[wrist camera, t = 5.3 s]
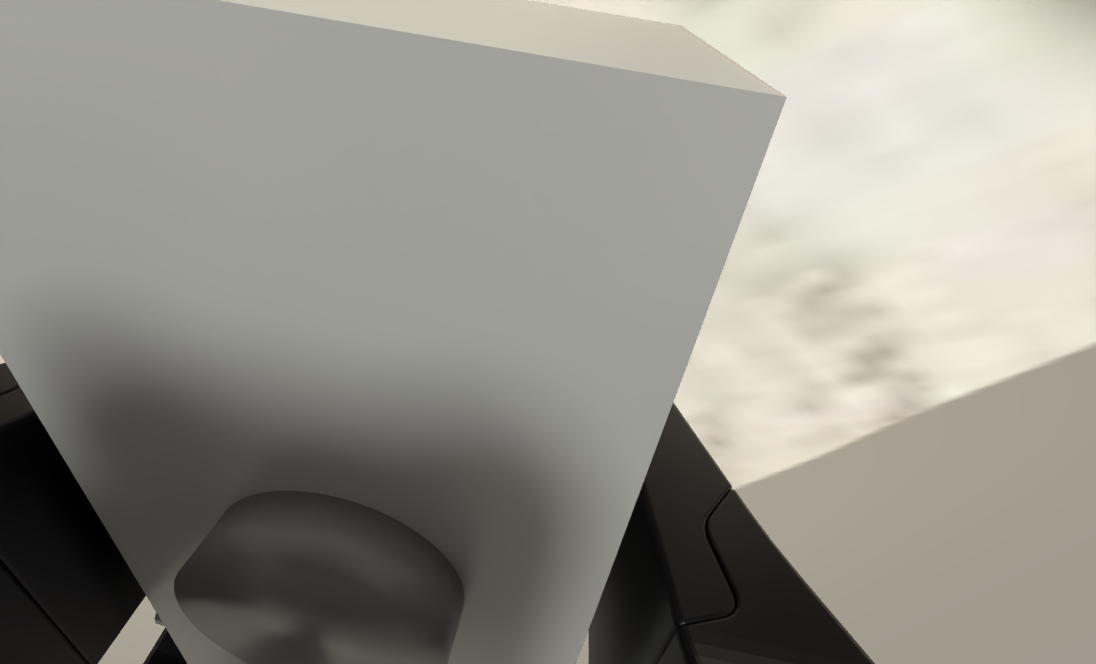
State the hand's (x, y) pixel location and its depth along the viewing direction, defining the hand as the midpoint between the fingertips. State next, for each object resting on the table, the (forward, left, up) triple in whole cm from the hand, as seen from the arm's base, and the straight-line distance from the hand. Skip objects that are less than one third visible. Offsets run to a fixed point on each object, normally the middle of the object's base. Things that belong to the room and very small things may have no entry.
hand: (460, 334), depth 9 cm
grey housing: (0, 0, -2) cm, 2 cm away
